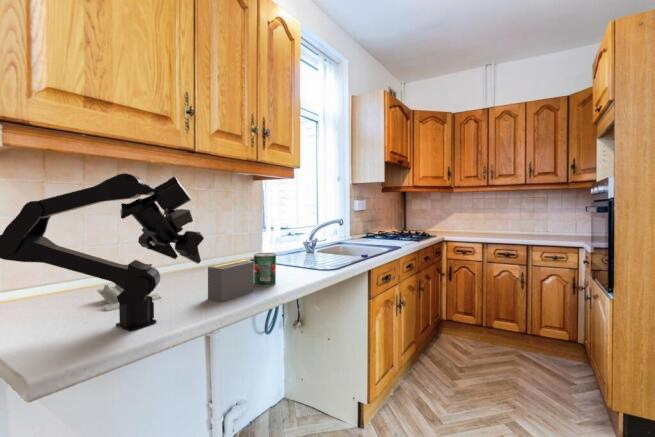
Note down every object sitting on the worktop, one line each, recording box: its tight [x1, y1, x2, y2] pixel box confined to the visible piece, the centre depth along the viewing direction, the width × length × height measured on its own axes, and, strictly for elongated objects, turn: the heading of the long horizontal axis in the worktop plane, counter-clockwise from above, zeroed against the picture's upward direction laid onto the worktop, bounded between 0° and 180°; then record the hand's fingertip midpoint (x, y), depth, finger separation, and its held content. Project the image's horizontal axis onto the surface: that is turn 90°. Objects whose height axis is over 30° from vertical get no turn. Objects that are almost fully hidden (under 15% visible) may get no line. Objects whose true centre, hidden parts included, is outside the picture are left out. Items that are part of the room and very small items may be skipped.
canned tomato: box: [253, 252, 277, 288], centre depth 120 cm, size 8×8×11 cm
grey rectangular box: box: [207, 259, 255, 303], centre depth 106 cm, size 14×6×10 cm, turn 152°
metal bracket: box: [96, 284, 162, 312], centre depth 98 cm, size 14×6×15 cm
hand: (187, 259), depth 91 cm, fingers open, 9 cm apart
